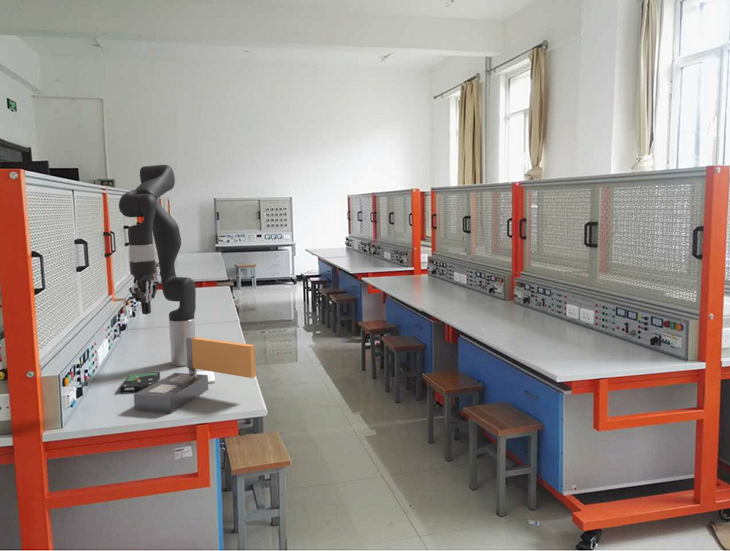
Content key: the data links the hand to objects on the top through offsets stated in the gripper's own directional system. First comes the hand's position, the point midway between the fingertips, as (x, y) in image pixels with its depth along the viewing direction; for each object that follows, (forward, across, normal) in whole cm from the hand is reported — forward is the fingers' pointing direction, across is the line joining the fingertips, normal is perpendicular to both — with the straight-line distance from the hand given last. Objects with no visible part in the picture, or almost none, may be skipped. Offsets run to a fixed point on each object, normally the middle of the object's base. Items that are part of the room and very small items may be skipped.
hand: (146, 313), depth 181 cm
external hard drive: (+28, -18, +8) cm, 34 cm away
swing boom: (+20, -6, +21) cm, 29 cm away
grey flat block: (+27, +3, +9) cm, 28 cm away
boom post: (+27, -9, +9) cm, 30 cm away
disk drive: (+28, -8, -10) cm, 30 cm away
